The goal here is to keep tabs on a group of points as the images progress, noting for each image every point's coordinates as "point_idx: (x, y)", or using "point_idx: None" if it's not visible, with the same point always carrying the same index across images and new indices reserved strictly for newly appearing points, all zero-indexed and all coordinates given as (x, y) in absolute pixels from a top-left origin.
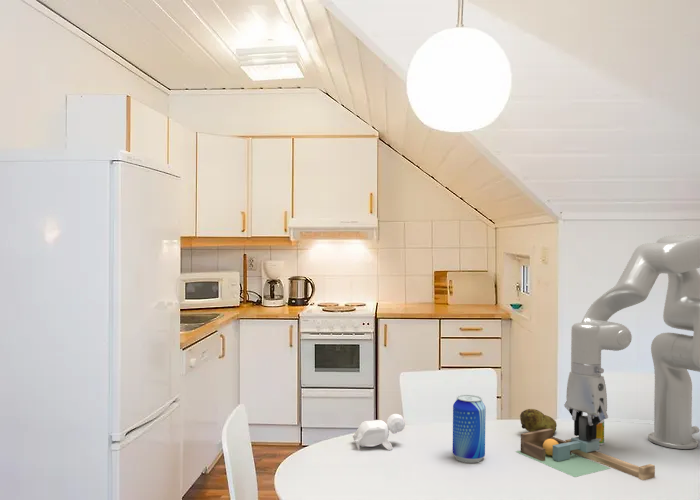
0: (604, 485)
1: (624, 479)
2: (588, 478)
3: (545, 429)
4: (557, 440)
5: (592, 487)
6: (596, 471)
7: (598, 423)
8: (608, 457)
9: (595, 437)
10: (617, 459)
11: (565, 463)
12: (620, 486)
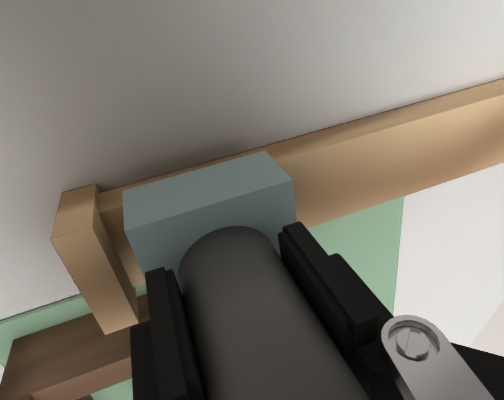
0: (467, 287)
1: (485, 198)
2: (411, 309)
3: None
4: (116, 381)
5: (454, 322)
6: (396, 265)
7: (429, 327)
8: (369, 163)
9: (302, 231)
10: (413, 132)
11: None
12: (500, 246)
